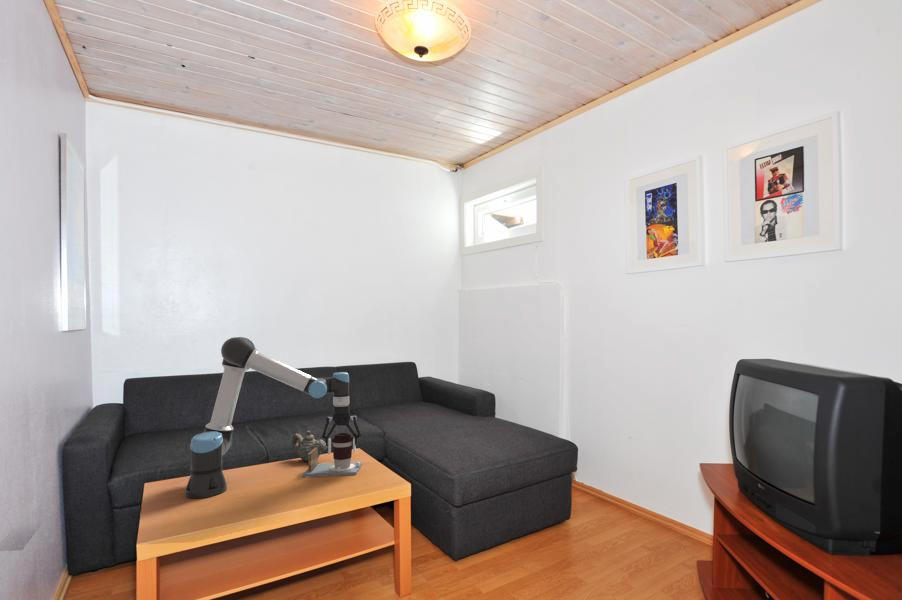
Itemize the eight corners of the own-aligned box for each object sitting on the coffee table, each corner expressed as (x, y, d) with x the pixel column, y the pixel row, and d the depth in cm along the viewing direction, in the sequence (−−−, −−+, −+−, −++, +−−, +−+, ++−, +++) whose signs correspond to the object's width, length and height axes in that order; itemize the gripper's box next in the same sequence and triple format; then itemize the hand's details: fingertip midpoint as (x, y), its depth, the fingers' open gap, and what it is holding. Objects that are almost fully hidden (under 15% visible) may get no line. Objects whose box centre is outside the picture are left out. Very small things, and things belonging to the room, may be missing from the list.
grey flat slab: (302, 477, 207) (302, 469, 208) (312, 466, 224) (312, 459, 225) (356, 474, 208) (356, 467, 209) (362, 464, 225) (362, 457, 226)
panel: (304, 471, 210) (304, 454, 211) (311, 464, 222) (311, 447, 223) (311, 471, 210) (310, 453, 211) (317, 464, 222) (317, 447, 223)
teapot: (332, 459, 237) (332, 429, 238) (318, 465, 226) (318, 433, 227) (299, 456, 245) (299, 427, 246) (284, 461, 234) (283, 431, 236)
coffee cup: (327, 468, 214) (327, 435, 215) (340, 463, 223) (340, 431, 224) (344, 470, 210) (344, 437, 211) (357, 465, 219) (357, 432, 220)
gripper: (314, 407, 215) (314, 455, 213) (365, 405, 216) (365, 453, 214) (318, 405, 222) (318, 451, 220) (367, 403, 223) (368, 449, 221)
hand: (342, 452), depth 217 cm, fingers open, 11 cm apart
